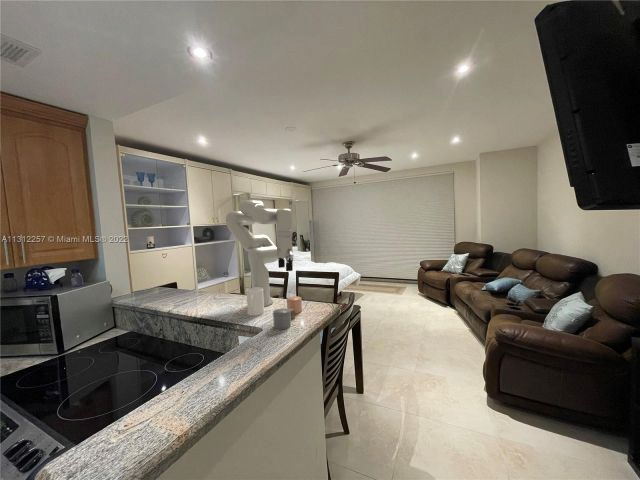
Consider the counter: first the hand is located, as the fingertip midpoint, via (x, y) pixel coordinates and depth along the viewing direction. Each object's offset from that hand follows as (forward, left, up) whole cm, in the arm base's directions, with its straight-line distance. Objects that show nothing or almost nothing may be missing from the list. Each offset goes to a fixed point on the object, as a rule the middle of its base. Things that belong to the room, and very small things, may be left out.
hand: (285, 269), depth 124 cm
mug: (-7, -14, -22) cm, 27 cm away
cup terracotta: (0, +4, -22) cm, 22 cm away
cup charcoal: (+15, -8, -22) cm, 27 cm away
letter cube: (+8, -2, -22) cm, 23 cm away
